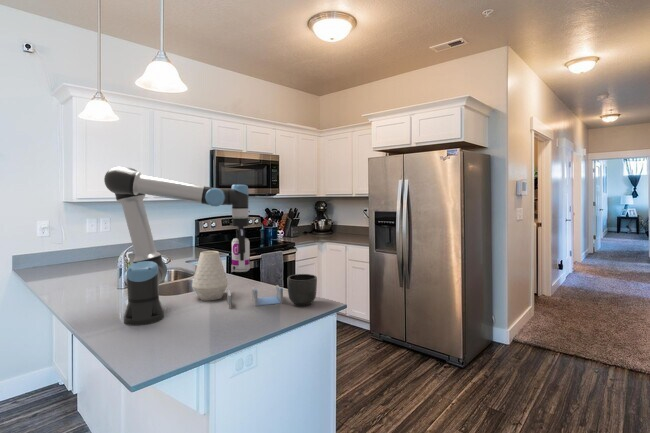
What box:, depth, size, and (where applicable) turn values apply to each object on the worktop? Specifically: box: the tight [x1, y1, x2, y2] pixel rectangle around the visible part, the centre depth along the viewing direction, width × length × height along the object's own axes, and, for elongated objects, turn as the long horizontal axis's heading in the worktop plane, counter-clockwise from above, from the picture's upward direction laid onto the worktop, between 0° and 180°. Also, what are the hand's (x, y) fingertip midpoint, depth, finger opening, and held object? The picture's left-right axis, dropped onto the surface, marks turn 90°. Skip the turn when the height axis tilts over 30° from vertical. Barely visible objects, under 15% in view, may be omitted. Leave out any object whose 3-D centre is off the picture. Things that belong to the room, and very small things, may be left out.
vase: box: [191, 250, 229, 302], centre depth 187 cm, size 17×17×23 cm
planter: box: [286, 273, 318, 307], centre depth 175 cm, size 14×14×13 cm
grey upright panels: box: [226, 284, 284, 310], centre depth 178 cm, size 25×12×7 cm, turn 108°
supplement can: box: [231, 237, 251, 273], centre depth 175 cm, size 8×8×15 cm
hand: (240, 265), depth 176 cm, fingers closed on supplement can, 8 cm apart
